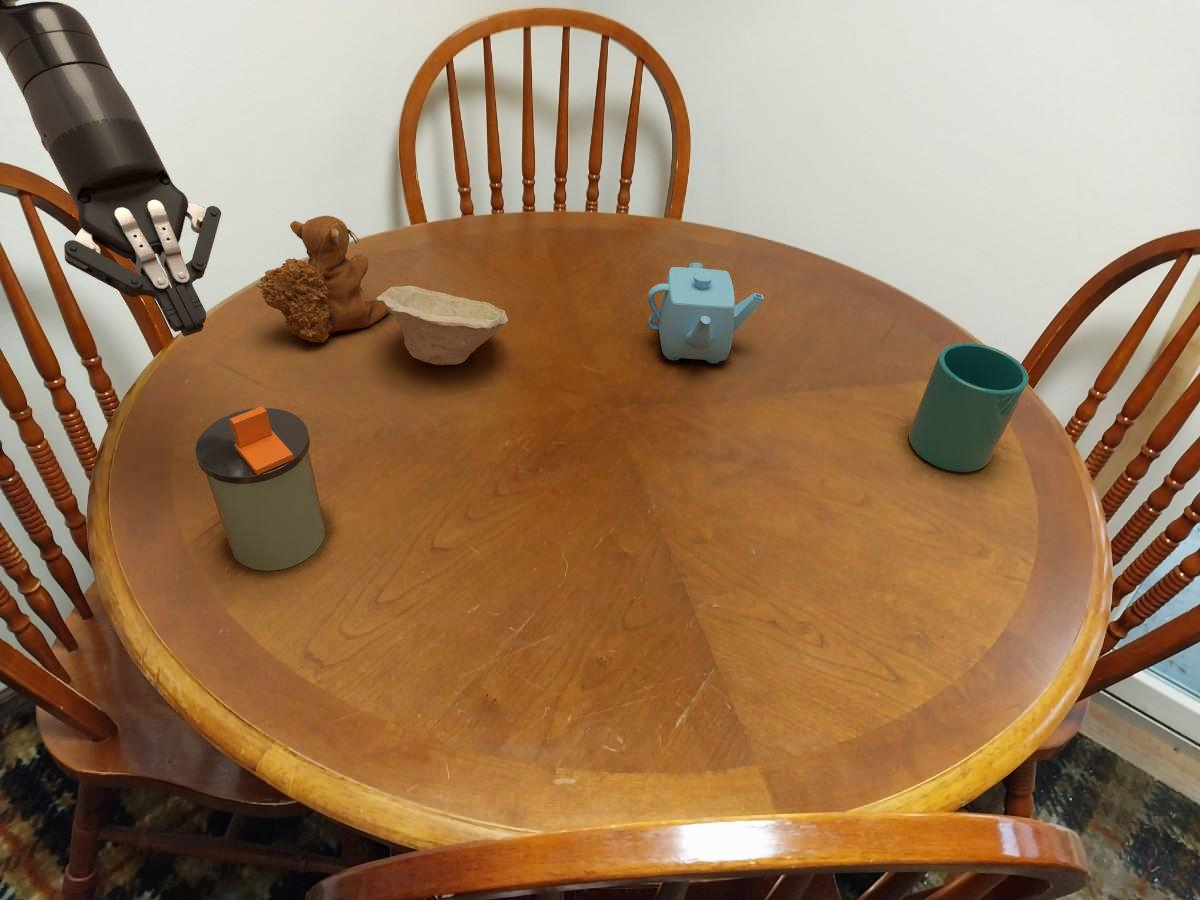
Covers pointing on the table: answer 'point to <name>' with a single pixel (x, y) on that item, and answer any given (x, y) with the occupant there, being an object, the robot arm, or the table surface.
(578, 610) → the table surface
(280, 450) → the slider
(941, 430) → the cup
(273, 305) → the stuffed squirrel
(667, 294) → the teapot
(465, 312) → the bowl
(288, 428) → the lidded canister
